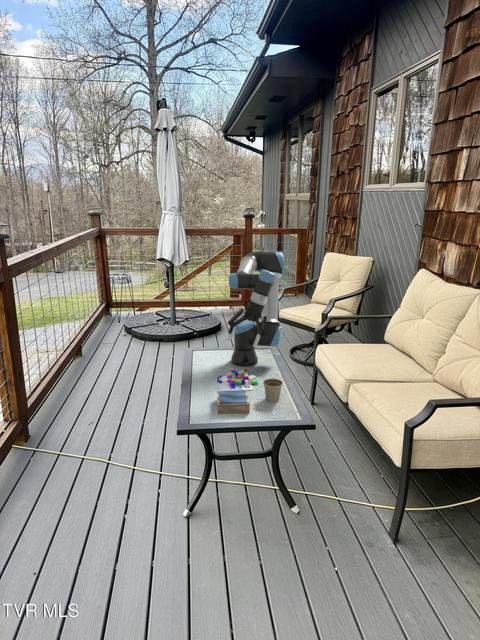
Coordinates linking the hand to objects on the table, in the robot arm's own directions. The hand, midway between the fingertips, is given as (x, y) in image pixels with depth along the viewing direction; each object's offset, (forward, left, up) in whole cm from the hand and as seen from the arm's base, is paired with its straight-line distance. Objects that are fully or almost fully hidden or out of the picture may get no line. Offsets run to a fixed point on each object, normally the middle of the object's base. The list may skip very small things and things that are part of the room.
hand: (241, 343), depth 204 cm
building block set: (-6, -9, -24) cm, 27 cm away
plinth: (+17, +9, -24) cm, 30 cm away
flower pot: (-1, +18, -24) cm, 30 cm away
